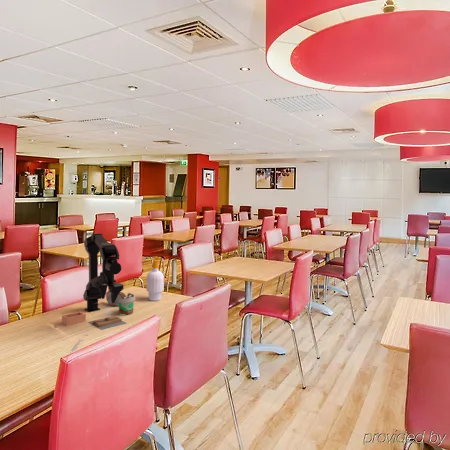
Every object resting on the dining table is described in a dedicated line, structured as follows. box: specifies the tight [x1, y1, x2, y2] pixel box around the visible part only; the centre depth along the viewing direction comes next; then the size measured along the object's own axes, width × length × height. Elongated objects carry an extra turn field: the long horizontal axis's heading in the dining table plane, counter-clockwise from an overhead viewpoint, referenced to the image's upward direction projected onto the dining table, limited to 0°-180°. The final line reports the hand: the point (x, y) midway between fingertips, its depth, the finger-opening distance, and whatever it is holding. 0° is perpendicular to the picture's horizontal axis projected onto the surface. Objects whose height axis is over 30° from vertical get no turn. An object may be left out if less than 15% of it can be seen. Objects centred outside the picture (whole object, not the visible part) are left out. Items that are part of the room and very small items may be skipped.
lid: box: [92, 315, 123, 327], centre depth 197 cm, size 7×12×2 cm, turn 136°
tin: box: [105, 290, 127, 307], centre depth 227 cm, size 15×3×8 cm, turn 58°
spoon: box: [69, 334, 89, 354], centre depth 170 cm, size 4×21×2 cm, turn 179°
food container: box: [118, 292, 136, 316], centre depth 212 cm, size 12×6×10 cm, turn 168°
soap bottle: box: [146, 259, 165, 302], centre depth 240 cm, size 10×10×24 cm
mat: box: [87, 320, 128, 331], centre depth 197 cm, size 14×14×1 cm
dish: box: [61, 311, 87, 327], centre depth 196 cm, size 6×10×4 cm, turn 136°
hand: (108, 300), depth 196 cm, fingers open, 9 cm apart
